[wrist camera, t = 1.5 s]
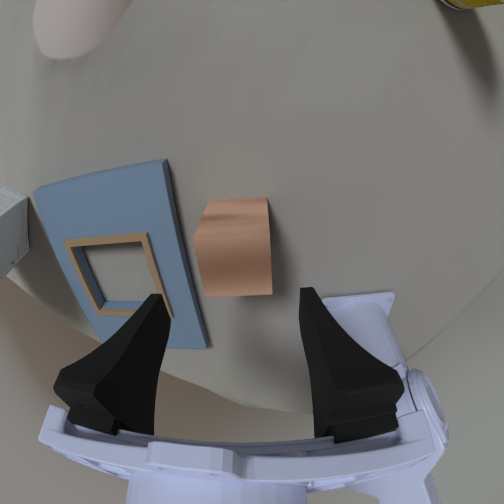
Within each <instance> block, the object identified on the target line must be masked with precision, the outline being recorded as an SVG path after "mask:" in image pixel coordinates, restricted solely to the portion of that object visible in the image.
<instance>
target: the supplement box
mask: <svg viewBox="0 0 504 504" xmlns="http://www.w3.org/2000/svg"><path fill="white" fill-rule="evenodd" d="M27 209H28V197H27V196H25V195H23V194H21V193H19V192H17V191H15V190H13V189H11V188H9V187H6V186H4V185H2V184H0V281H1V280H2V279H3V278H4V277H5V276H6V275H7V274H8V273H9V271H10V270H11V269H12V268H13V267H14V266H15V265H16V264H17V263H18V262H19V261H20V260H21V259H22V258H23V257H24V256H25V255H26V254H27V253H28V252H29V250H30V249H29V241H28V221H27Z"/></svg>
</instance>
